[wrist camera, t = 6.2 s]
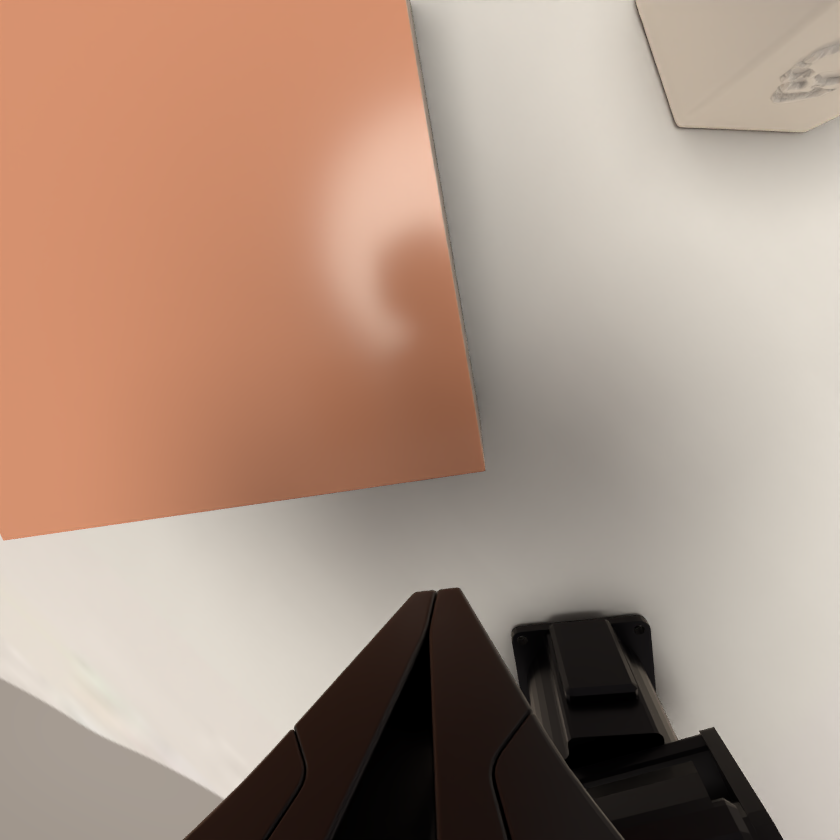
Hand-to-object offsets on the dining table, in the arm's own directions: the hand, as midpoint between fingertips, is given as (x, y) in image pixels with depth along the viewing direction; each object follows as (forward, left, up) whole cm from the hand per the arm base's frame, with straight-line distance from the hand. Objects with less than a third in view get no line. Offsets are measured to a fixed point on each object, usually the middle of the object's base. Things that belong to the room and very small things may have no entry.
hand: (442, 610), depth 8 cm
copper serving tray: (+8, +8, -8) cm, 14 cm away
